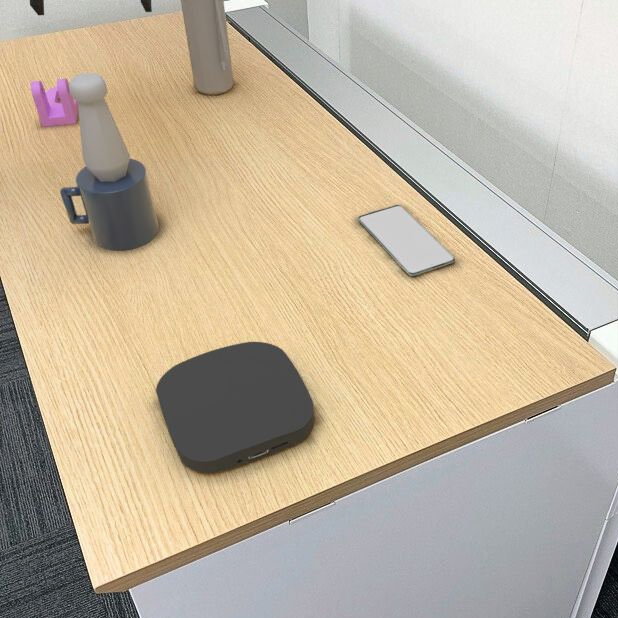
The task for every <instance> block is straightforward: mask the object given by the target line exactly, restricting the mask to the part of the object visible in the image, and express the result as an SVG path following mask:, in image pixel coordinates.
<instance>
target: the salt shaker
mask: <svg viewBox="0 0 618 618" xmlns="http://www.w3.org/2000/svg"><path fill="white" fill-rule="evenodd" d="M68 83H69V90H70V93H71V95H72V97H73V99H74V100H76V101H78V120H79V121H78V122H79V130H80V141H81V152H82V161H83V163H84V165H85V167H87V169H88V170H89V171H90V172H91V173H92V174H93V175H94V176H95V177H96V178H97V179H98V180H100V181H101V182H115V181H117V180H119V179H121V178H122V177H124V176H126V172H127V167H128V163H129V160H130V159H131V155H130V154H131V153H130V152H129V150H128V147H127V144H125V141H124V139H123V136H122V135H121V132H120V130H119V127H118V125H117V123H116V121H115V119H114V116H113V114H112V112H111V110H110V108H109V105H108V103H107V101H106V99H105V97H106V96H107V94H108V86H107V83H106V81H105V79H104V77H103V76H101V75H100V74H98V73H95V72H87V73H86V72H85V73H80V74H76V75H75V76H73V77H71V79H70V81H68Z"/></svg>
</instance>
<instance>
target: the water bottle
mask: <svg viewBox="0 0 618 618" xmlns="http://www.w3.org/2000/svg"><path fill="white" fill-rule="evenodd" d="M180 6H181V11H182V17H183V24H184V30H185V35H186V42H187V47H188V55H189V60H190V68H191V73H192V78H193V84H194V87H195V88H196V90H197V91H198V92H199V93H201V94H204V95H208V96H209V95H210V96H212V95H213V96H214V95H216V96H217V95H220V94H225V93H226V92H228V91H229V90H231V89H232V88H233V85H234V83H235V82H234V75H233V66H232V65H233V64H232V58H231V57H232V56H231V50H230V42H229V34H228V26H227V25H228V24H227V17H226V9H225V1H224V0H180Z"/></svg>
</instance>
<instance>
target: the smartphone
mask: <svg viewBox="0 0 618 618" xmlns="http://www.w3.org/2000/svg"><path fill="white" fill-rule="evenodd" d="M358 222H359V223H360V225H362V226H363V228H365V229H366V231H368V233H369V234H370V235H371V237H373V238H374V239H375V241H377V243H378V244H379V245H380V246H381V247H382V248H383V249H384V250H385V251H386V252H387V253H388V254H389V255H390V257H392V259H393V260H394V261H395V262H396V263H397V264H398V265H399V266H400V267H401V268H402V270H404V271H405V272H406V274H408V275H409V276H411V277H413V276H414V277H415V276H418V275H422V274H424V273H428V272H429V271H433V270H437V269H439V268H442V267H445V266H448V265H451V264H453V263H454V262H455V260H456V258H455V256H454V255H453V254H451V252H450V251H449V250H447V249H446V248H445V246H444V245H442V244H441V243H440V242H439V241H438V239H436V238H435V237H434V236H433V235H432V234H431V233H430V232H429V231H428V230H427V229H426V228H425V227H424V226H423V225H422V224H421V223H420V222H419V221H418V220H416V218H414V216H413V215H411V214H410V212H409V211H407V210H406V209H405V208H404V207H403V205H400V204H395V205H391V206H389V207H385V208H381V209H378V210H375V211H371V212H368V213H365V214H361V215H359V216H358Z"/></svg>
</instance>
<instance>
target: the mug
mask: <svg viewBox="0 0 618 618" xmlns="http://www.w3.org/2000/svg"><path fill="white" fill-rule="evenodd" d="M75 183H76V186H66V187H62V188H61V189H60V191H59V192H60V196H61V199H62V202H63V206H64V208H65V212H66V215H67V217H68V221H69V223H70V224H72V225H87V224H88V225H89V229H90V232H91V235H92V238H93V241H94V242H95V244H97V245H98V247H100V248H103V249H105V250H109V251H128V250H133V249H136V248H140V247H142V246H144V245H146V244H149V242H151V241H152V240H153V239H155V237H156V236H157V235H158V232H159V231H160V230H159V228H160V226H159V221H158V217H157V216H158V215H157V212H156V207H155V204H154V199H153V194H152V190H151V185H150V182H149V178H148V174H147V168H146V167H145V165H144V164H143V163H142V162H141V161H139V160H137V159H134V158H130V160H129V163H128V167H127V172H126V176H124V177H122V178H121V179H119V180H117V181H115V182H101V181H100V180H98V179H97V178H96V177H95V176H94V175H93V174H92V173H91V172H90V171H89V170H88V169H87V167H86V166H84V167H83V168H81V169H80V170H79V171H78V173H77V174H76V177H75ZM73 197H80V200H81V203H82V207H83V209H84V213H85V214H78V213H77V210H76V207H75V204H74V200H73Z"/></svg>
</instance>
